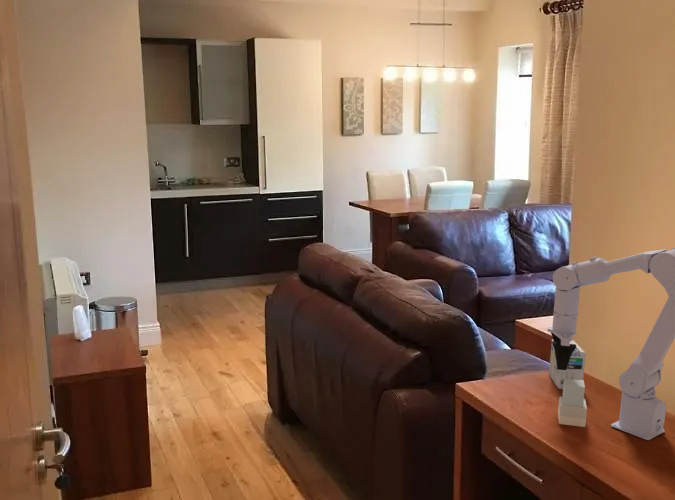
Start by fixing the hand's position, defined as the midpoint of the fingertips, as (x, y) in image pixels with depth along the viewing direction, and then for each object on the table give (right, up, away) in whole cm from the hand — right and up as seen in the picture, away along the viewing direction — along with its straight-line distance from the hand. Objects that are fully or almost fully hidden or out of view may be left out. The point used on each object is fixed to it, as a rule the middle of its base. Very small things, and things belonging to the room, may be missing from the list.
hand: (560, 364), depth 187 cm
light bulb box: (+6, -8, +16) cm, 19 cm away
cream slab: (0, -13, -8) cm, 15 cm away
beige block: (0, -10, -9) cm, 13 cm away
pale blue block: (0, -8, -9) cm, 12 cm away
